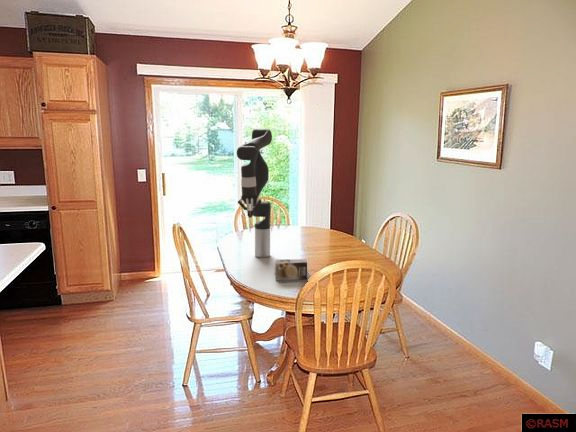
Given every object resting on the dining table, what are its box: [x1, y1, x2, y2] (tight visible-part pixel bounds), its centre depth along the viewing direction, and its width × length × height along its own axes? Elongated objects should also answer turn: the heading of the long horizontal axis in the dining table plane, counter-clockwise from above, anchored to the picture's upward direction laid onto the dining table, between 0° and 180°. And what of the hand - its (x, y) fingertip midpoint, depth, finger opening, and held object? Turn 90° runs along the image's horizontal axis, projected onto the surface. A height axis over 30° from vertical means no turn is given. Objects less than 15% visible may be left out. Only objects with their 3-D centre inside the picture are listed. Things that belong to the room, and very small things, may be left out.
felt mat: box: [274, 270, 312, 284], centre depth 214 cm, size 14×18×1 cm
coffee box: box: [274, 258, 308, 281], centre depth 211 cm, size 9×6×16 cm
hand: (250, 217), depth 217 cm, fingers closed
